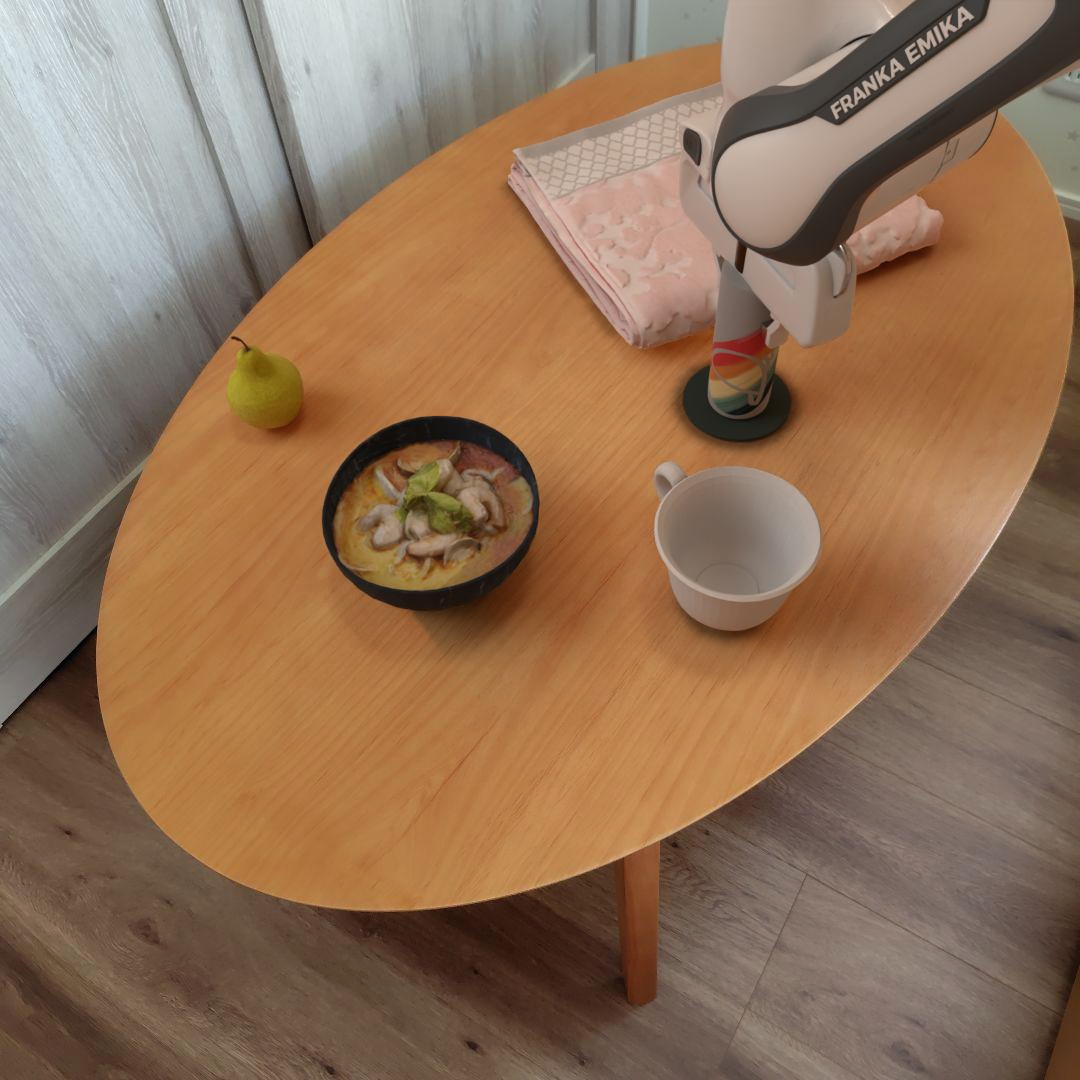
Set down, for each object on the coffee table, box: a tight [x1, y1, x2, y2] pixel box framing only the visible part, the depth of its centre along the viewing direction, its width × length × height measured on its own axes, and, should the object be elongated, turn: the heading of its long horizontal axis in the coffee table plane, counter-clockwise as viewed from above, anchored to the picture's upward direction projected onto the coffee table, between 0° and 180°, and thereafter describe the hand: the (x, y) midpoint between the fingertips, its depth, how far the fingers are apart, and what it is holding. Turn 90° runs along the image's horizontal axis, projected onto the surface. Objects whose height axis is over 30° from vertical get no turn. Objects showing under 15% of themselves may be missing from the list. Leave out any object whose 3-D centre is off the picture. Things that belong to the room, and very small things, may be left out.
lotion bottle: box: [708, 240, 781, 419], centre depth 79 cm, size 6×6×20 cm
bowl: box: [321, 415, 541, 612], centre depth 76 cm, size 17×17×10 cm
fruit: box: [226, 335, 304, 430], centre depth 86 cm, size 7×7×12 cm
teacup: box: [653, 460, 824, 632], centre depth 73 cm, size 12×15×10 cm
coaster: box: [682, 364, 792, 443], centre depth 88 cm, size 10×10×1 cm
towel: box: [507, 80, 945, 351], centre depth 101 cm, size 36×34×6 cm
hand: (750, 315), depth 79 cm, fingers closed on lotion bottle, 5 cm apart
